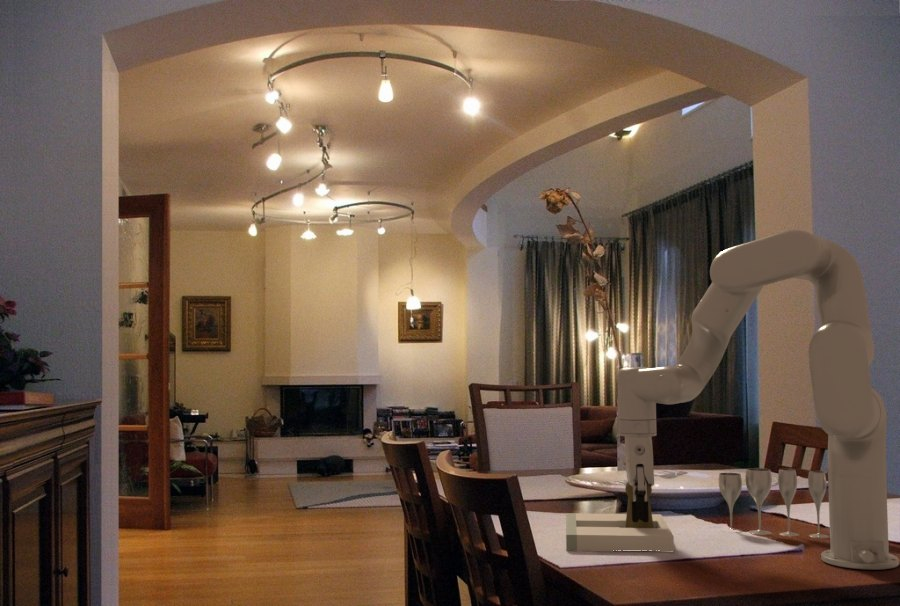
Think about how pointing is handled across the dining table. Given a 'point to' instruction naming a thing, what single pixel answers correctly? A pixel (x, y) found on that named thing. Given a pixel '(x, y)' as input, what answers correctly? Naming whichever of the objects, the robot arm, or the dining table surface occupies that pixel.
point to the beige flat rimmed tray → (615, 533)
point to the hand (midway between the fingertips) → (639, 518)
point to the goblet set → (760, 488)
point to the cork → (629, 509)
